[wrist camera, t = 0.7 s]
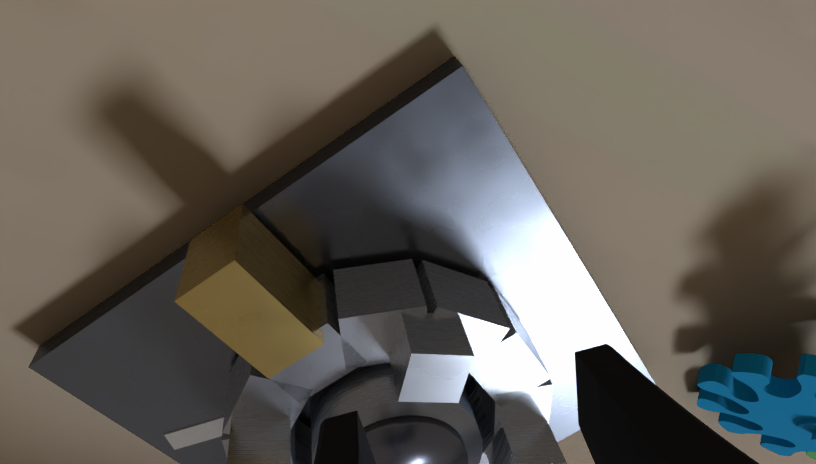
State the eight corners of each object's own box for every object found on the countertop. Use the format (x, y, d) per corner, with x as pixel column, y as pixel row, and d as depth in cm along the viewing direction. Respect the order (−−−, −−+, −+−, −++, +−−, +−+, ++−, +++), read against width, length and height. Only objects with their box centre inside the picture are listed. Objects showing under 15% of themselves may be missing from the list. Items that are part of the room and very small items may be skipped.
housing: (363, 429, 25) (379, 547, 21) (278, 355, 22) (275, 474, 18) (475, 363, 24) (515, 472, 20) (400, 277, 22) (428, 382, 17)
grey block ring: (352, 513, 26) (361, 617, 22) (80, 317, 19) (29, 425, 15) (571, 389, 24) (620, 481, 21) (367, 116, 17) (388, 184, 13)
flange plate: (336, 543, 29) (337, 564, 28) (39, 346, 20) (27, 368, 20) (645, 370, 26) (657, 387, 26) (454, 56, 18) (463, 66, 17)
